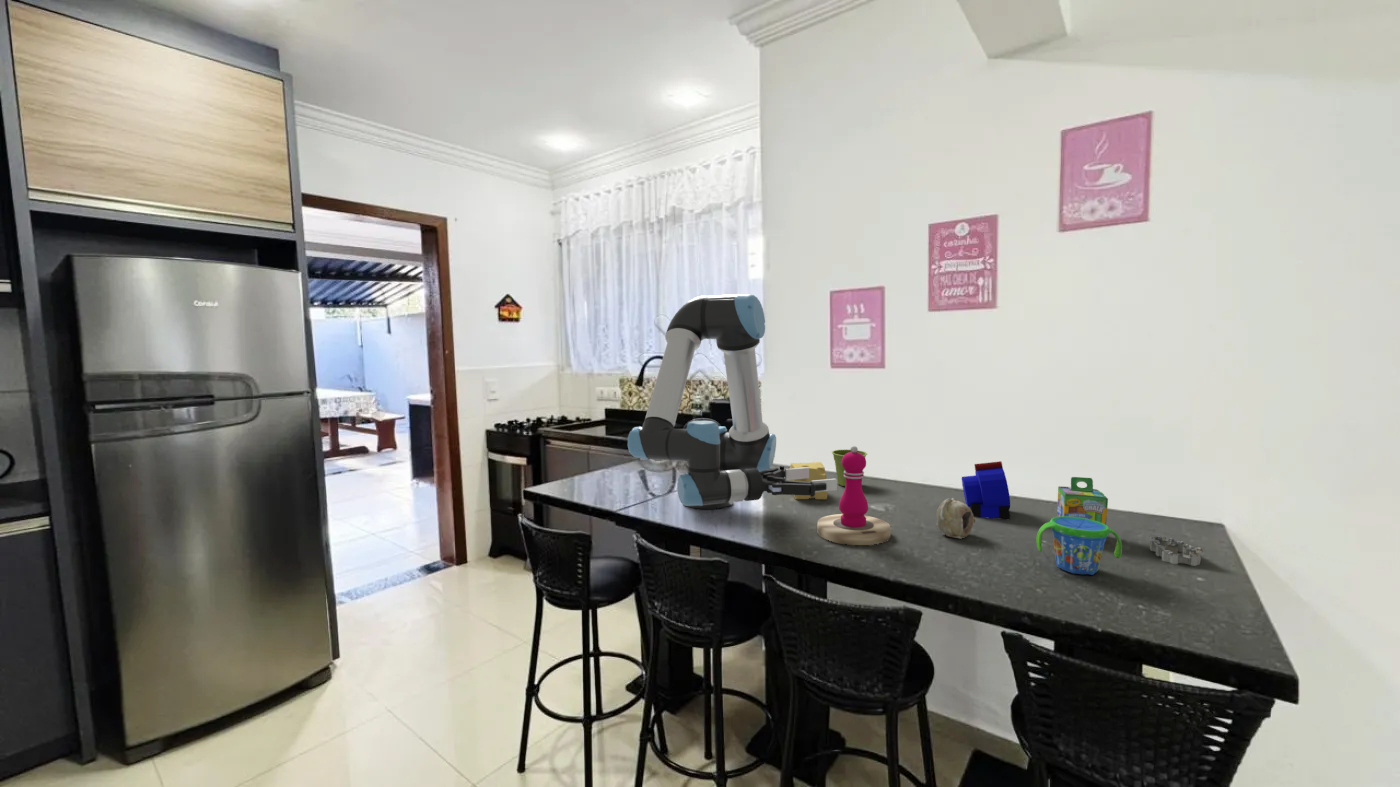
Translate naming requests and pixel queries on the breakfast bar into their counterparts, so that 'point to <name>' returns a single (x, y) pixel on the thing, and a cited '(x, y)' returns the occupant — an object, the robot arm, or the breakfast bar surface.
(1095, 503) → the chalk box
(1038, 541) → the snack cup
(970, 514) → the sea shell
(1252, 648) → the breakfast bar surface
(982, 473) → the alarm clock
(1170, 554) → the egg carton
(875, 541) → the oak base
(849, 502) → the pepper mill
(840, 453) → the plant pot
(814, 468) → the cheese
